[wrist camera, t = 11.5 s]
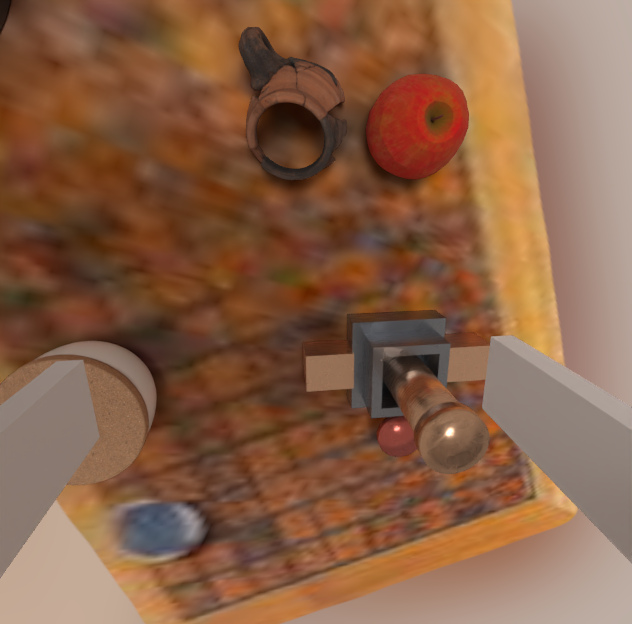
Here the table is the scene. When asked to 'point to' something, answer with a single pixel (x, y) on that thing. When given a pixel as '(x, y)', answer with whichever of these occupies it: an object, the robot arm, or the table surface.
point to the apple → (417, 125)
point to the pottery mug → (290, 98)
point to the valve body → (388, 341)
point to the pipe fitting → (435, 416)
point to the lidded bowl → (103, 403)
